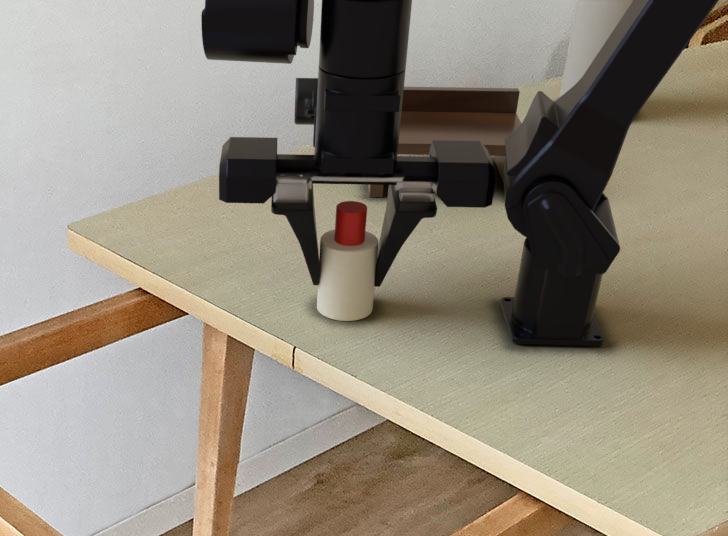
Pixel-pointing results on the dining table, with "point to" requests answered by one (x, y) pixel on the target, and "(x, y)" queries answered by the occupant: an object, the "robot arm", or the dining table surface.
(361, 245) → the seasoning bottle
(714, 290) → the dining table surface
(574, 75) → the travel mug
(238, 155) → the robot arm
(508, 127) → the spice rack
